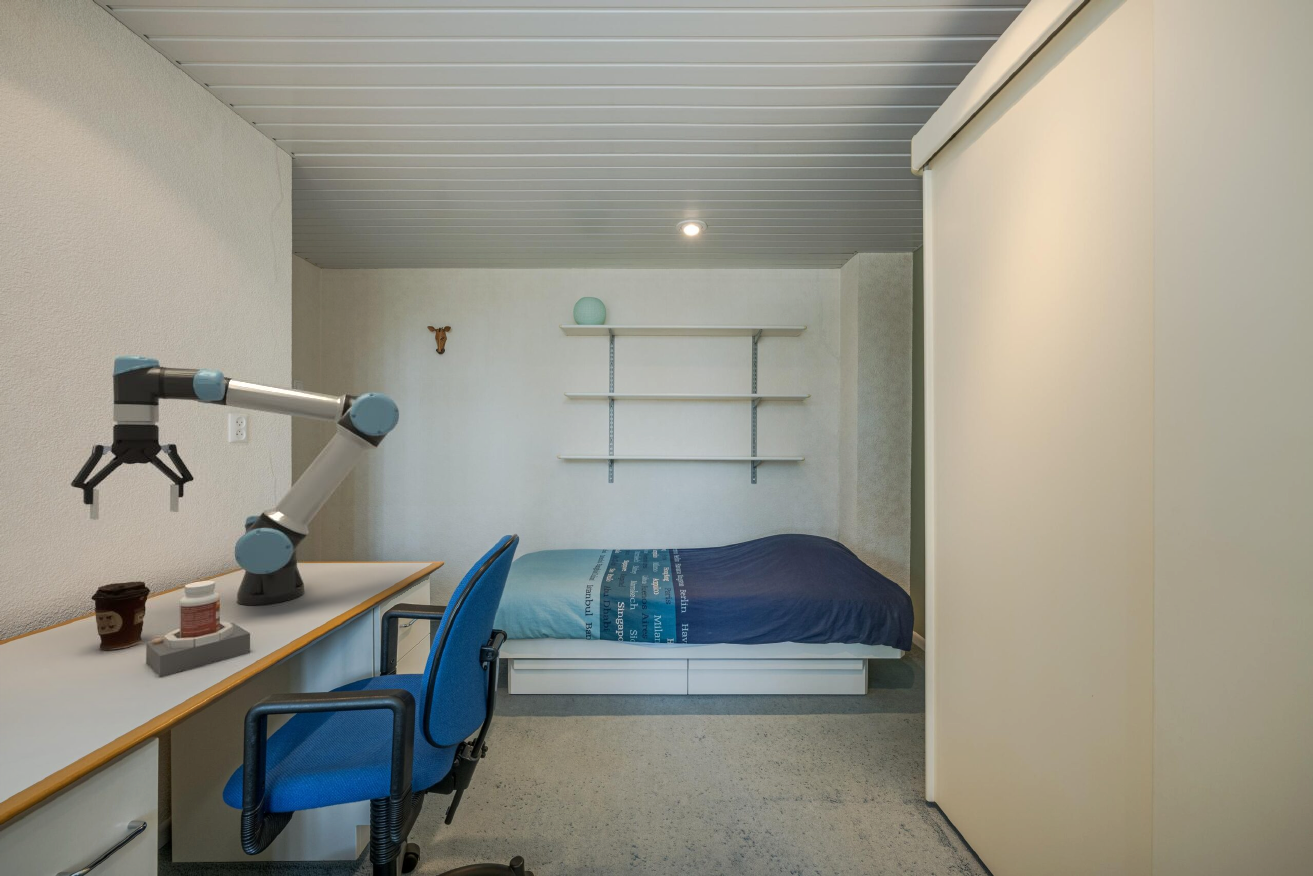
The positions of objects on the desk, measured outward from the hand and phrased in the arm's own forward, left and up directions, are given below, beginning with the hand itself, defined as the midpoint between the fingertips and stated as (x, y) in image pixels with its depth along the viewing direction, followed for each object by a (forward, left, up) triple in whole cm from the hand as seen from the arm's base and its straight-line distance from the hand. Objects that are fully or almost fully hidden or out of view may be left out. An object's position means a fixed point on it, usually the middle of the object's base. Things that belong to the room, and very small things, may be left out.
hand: (136, 515), depth 122 cm
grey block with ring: (-4, +32, -26) cm, 41 cm away
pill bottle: (-4, +32, -23) cm, 39 cm away
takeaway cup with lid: (+4, +11, -27) cm, 29 cm away
